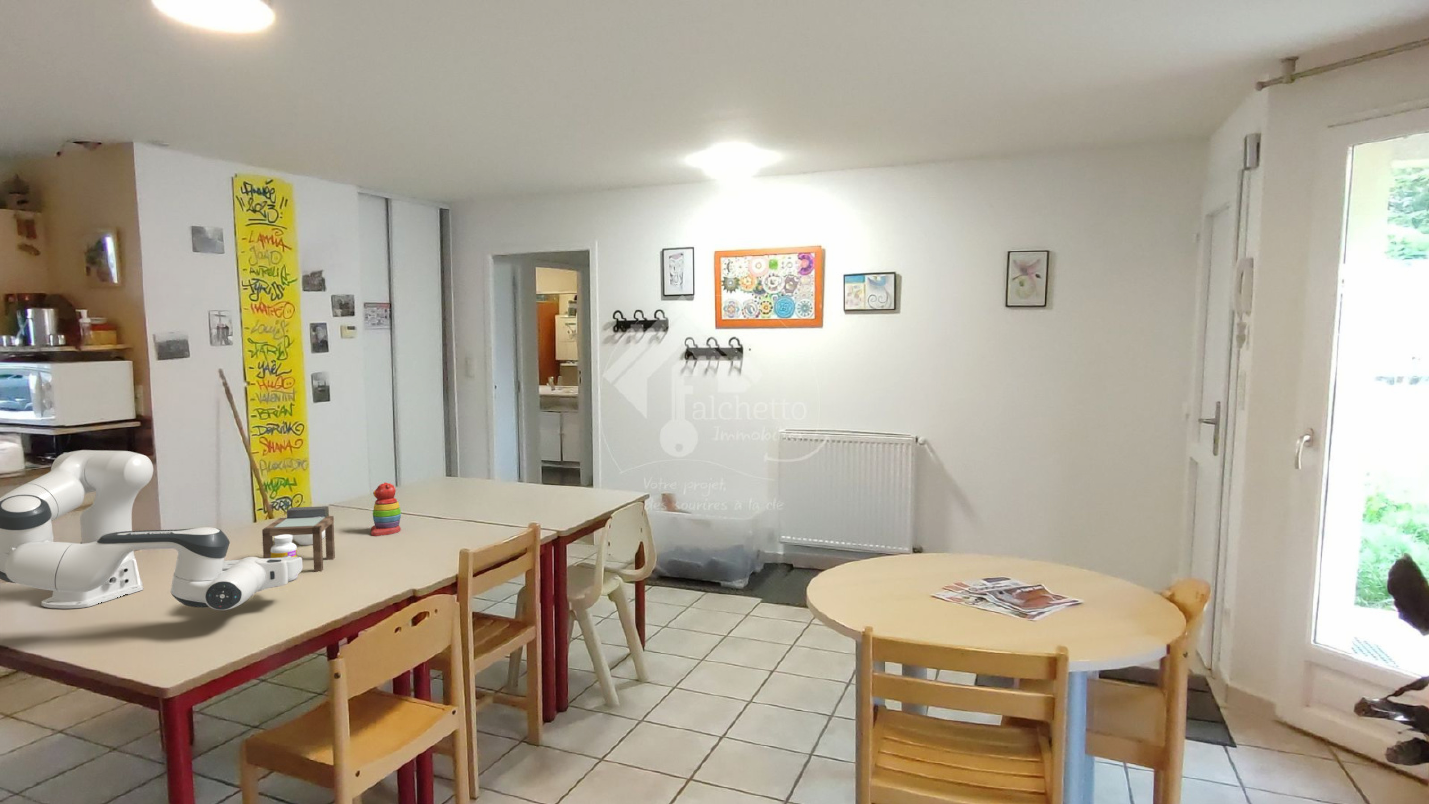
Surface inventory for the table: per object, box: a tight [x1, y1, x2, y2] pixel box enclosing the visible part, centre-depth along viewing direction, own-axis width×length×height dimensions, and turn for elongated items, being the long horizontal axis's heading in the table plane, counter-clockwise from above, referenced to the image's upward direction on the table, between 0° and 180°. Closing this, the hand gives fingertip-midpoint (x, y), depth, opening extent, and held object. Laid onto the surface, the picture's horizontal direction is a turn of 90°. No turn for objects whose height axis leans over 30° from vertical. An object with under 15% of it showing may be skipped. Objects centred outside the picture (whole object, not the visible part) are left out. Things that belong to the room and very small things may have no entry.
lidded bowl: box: [292, 514, 331, 546], centre depth 260 cm, size 13×13×11 cm
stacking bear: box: [370, 481, 402, 537], centre depth 275 cm, size 11×10×18 cm
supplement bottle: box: [271, 534, 299, 582], centre depth 221 cm, size 7×7×13 cm
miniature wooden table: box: [261, 515, 336, 573], centre depth 234 cm, size 15×16×14 cm
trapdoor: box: [274, 505, 330, 528], centre depth 236 cm, size 16×11×6 cm
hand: (269, 559), depth 208 cm, fingers open, 8 cm apart
